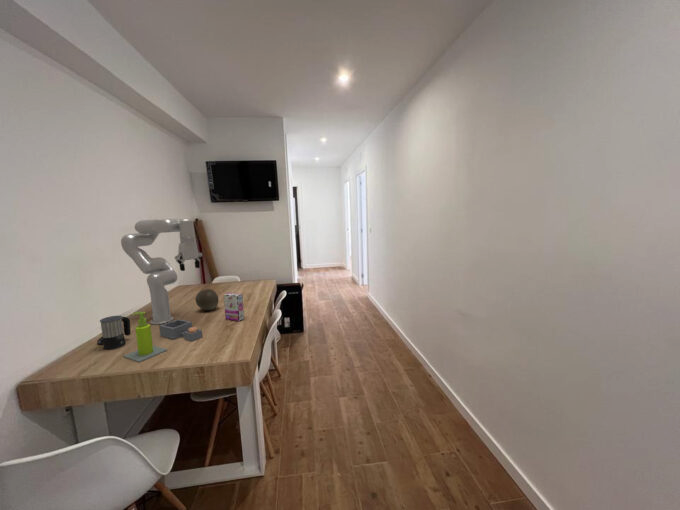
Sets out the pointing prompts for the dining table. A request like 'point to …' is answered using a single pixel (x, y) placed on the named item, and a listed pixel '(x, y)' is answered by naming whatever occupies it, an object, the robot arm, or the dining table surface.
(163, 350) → the mat
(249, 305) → the dining table surface
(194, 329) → the tan ball
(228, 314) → the candy bar box
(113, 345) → the milk frother
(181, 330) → the holder
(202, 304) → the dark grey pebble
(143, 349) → the soap dispenser
